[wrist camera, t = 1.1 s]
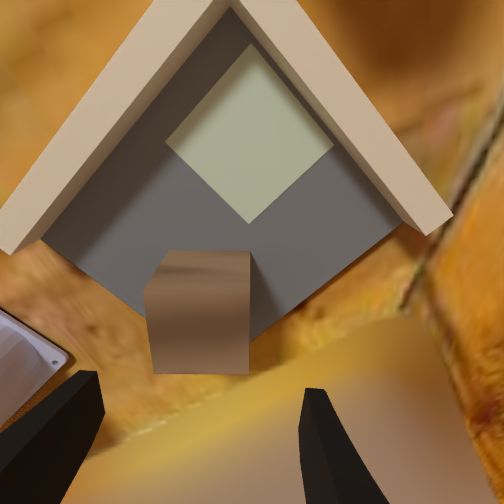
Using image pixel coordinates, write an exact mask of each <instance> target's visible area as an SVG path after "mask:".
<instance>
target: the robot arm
mask: <svg viewBox="0 0 504 504" xmlns="http://www.w3.org/2000/svg"><path fill="white" fill-rule="evenodd" d="M68 359H69V356H68V354H67V353H66V352H64V351H63V350H61V349H60V348H58V347H57V346H55V345H54V344H52V343H51V342H49V341H48V340H46V339H45V338H43V337H42V336H40V335H38V334H37V333H35V332H34V331H32V330H31V329H29V328H28V327H26V326H25V325H23V324H22V323H20V322H19V321H17V320H15V319H14V318H12V317H11V316H9V315H8V314H6V313H5V312H3V311H2V310H0V428H1V427H2V425H3V424H4V423H5V422H6V420H8V419H9V418H10V417H11V416H12V415H13V414H14V413H15V412H16V411H17V410H18V409H19V408H20V407H21V406H22V405H23V404H24V403H25V402H26V401H27V400H28V399H29V398H30V397H31V396H32V395H33V394H34V393H35V392H36V391H37V390H38V389H39V388H40V387H41V386H42V385H43V384H44V383H45V382H46V381H47V380H48V379H50V378H51V377H52V376H53V375H54V374H55V373H56V372H57V371H58V370H59V369H60V368H61V367H62V366H63V365H64V364H65V363H66V362H67V360H68ZM57 361H58V362H57ZM104 415H105V409H104V404H103V399H102V394H101V389H100V384H99V379H98V374H97V371H86V370H79V371H78V372H77V373H75V374H74V375H73V376H71V377H70V378H69V379H68V380H67V381H65V382H64V383H63V384H62V385H60V386H59V387H58V388H57V389H55V390H54V391H53V392H52V393H51V394H49V395H48V396H47V397H46V398H44V399H43V400H42V401H41V402H40V403H38V404H37V405H36V406H35V407H33V408H32V409H31V410H30V411H28V412H27V413H26V414H25V415H23V416H22V417H21V418H19V419H18V420H17V421H16V422H14V423H13V424H12V425H11V426H9V427H8V428H7V429H5V430H4V431H3V432H1V433H0V504H60V503H61V501H62V499H63V497H64V496H65V494H66V492H67V490H68V488H69V486H70V485H71V483H72V481H73V479H74V477H75V476H76V474H77V472H78V470H79V468H80V466H81V464H82V463H83V461H84V459H85V457H86V455H87V453H88V451H89V450H90V448H91V446H92V444H93V441H94V439H95V437H96V434H97V432H98V430H99V427H100V425H101V422H102V420H103V417H104ZM298 432H299V451H300V464H301V471H302V478H303V485H304V491H305V498H306V504H389V502H388V501H387V499H386V498H385V496H384V495H383V493H382V491H381V490H380V488H379V487H378V485H377V484H376V482H375V481H374V479H373V478H372V476H371V474H370V473H369V471H368V470H367V468H366V466H365V465H364V463H363V461H362V460H361V458H360V456H359V454H358V453H357V451H356V449H355V447H354V446H353V444H352V442H351V440H350V439H349V437H348V435H347V433H346V431H345V429H344V428H343V426H342V424H341V422H340V420H339V418H338V416H337V414H336V412H335V410H334V408H333V406H332V404H331V402H330V399H329V397H328V395H327V393H326V391H325V390H324V389H316V388H305V394H304V400H303V405H302V410H301V416H300V422H299V427H298Z"/></svg>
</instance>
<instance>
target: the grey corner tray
mask: <svg viewBox="0 0 504 504" xmlns="http://www.w3.org/2000/svg"><path fill="white" fill-rule="evenodd" d="M452 216H453V214H452V212H451V211H450V210H449V208H448V207H447V206H446V204H445V203H444V201H443V200H442V199H441V197H440V196H439V195H438V193H437V192H436V191H435V189H434V188H433V186H432V185H431V184H430V182H429V181H428V180H427V178H426V177H425V176H424V174H423V173H422V171H421V170H420V169H419V167H418V166H417V165H416V163H415V162H414V160H413V159H412V158H411V156H410V155H409V154H408V152H407V151H406V150H405V148H404V147H403V145H402V144H401V143H400V141H399V140H398V139H397V137H396V136H395V135H394V133H393V132H392V130H391V129H390V128H389V126H388V125H387V124H386V122H385V121H384V120H383V118H382V117H381V115H380V114H379V113H378V111H377V110H376V109H375V107H374V106H373V104H372V103H371V102H370V100H369V99H368V98H367V96H366V95H365V94H364V92H363V91H362V89H361V88H360V87H359V85H358V84H357V83H356V81H355V80H354V79H353V77H352V76H351V74H350V73H349V72H348V70H347V69H346V68H345V66H344V65H343V64H342V62H341V61H340V59H339V58H338V57H337V55H336V54H335V53H334V51H333V50H332V48H331V47H330V46H329V44H328V43H327V42H326V40H325V39H324V38H323V36H322V35H321V33H320V32H319V31H318V29H317V28H316V27H315V25H314V24H313V23H312V21H311V20H310V18H309V17H308V16H307V14H306V13H305V12H304V10H303V9H302V7H301V6H300V5H299V3H298V2H297V1H296V0H154V1H153V2H152V4H151V5H150V7H149V8H148V9H147V11H146V12H145V13H144V15H143V16H142V17H141V19H140V20H139V22H138V23H137V24H136V26H135V27H134V28H133V30H132V31H131V32H130V34H129V35H128V37H127V38H126V39H125V41H124V42H123V43H122V45H121V46H120V47H119V49H118V50H117V51H116V53H115V54H114V56H113V57H112V58H111V60H110V61H109V62H108V64H107V65H106V66H105V68H104V69H103V71H102V72H101V73H100V75H99V76H98V77H97V79H96V80H95V81H94V83H93V84H92V86H91V87H90V88H89V90H88V91H87V92H86V94H85V95H84V96H83V98H82V99H81V101H80V102H79V103H78V105H77V106H76V107H75V109H74V110H73V111H72V113H71V114H70V115H69V117H68V118H67V120H66V121H65V122H64V124H63V125H62V126H61V128H60V129H59V130H58V132H57V133H56V135H55V136H54V137H53V139H52V140H51V141H50V143H49V144H48V145H47V147H46V148H45V150H44V151H43V152H42V154H41V155H40V156H39V158H38V159H37V160H36V162H35V163H34V165H33V166H32V167H31V169H30V170H29V171H28V173H27V174H26V175H25V177H24V178H23V179H22V181H21V182H20V184H19V185H18V186H17V188H16V189H15V190H14V192H13V193H12V194H11V196H10V197H9V199H8V200H7V201H6V203H5V204H4V205H3V207H2V208H1V209H0V249H2V250H3V251H5V252H6V253H7V254H9V255H12V254H14V253H16V252H18V251H19V250H21V249H23V248H25V247H27V246H28V245H30V244H32V243H34V242H36V241H37V240H39V239H41V240H42V241H43V242H45V243H46V244H47V245H49V246H50V247H51V248H53V249H54V250H55V251H57V252H58V253H59V254H61V255H62V256H63V257H65V258H66V259H67V260H69V261H70V262H71V263H73V264H74V265H75V266H77V267H78V268H79V269H81V270H82V271H83V272H85V273H86V274H87V275H89V276H90V277H91V278H93V279H94V280H95V281H97V282H98V283H99V284H101V285H102V286H103V287H105V288H106V289H107V290H108V291H110V292H111V293H112V294H114V295H115V296H116V297H118V298H119V299H120V300H122V301H123V302H124V303H126V304H127V305H128V306H130V307H131V308H132V309H134V310H135V311H136V312H138V313H139V314H140V315H142V316H143V317H144V318H146V314H145V307H144V300H143V293H142V291H143V290H144V288H145V286H146V285H147V283H148V282H149V280H150V279H151V277H152V275H153V274H154V272H155V271H156V269H157V268H158V266H159V264H160V263H161V261H162V260H163V258H164V257H165V255H166V253H167V252H168V250H206V251H250V327H249V343H250V342H251V341H252V340H254V339H255V338H256V337H257V336H259V335H260V334H261V333H262V332H264V331H265V330H266V329H268V328H269V327H270V326H271V325H273V324H274V323H275V322H276V321H278V320H279V319H280V318H282V317H283V316H284V315H285V314H287V313H288V312H289V311H291V310H292V309H293V308H294V307H296V306H297V305H298V304H299V303H301V302H302V301H303V300H305V299H306V298H307V297H308V296H310V295H311V294H312V293H313V292H315V291H316V290H317V289H319V288H320V287H321V286H322V285H324V284H325V283H326V282H327V281H329V280H330V279H331V278H333V277H334V276H335V275H336V274H338V273H339V272H340V271H341V270H343V269H344V268H345V267H347V266H348V265H349V264H350V263H352V262H353V261H354V260H355V259H357V258H358V257H359V256H361V255H362V254H363V253H364V252H366V251H367V250H368V249H369V248H371V247H372V246H373V245H375V244H376V243H377V242H378V241H380V240H381V239H382V238H383V237H385V236H386V235H387V234H389V233H390V232H391V231H392V230H394V229H395V228H396V227H397V226H399V225H400V224H401V223H403V222H405V223H407V224H408V225H410V226H411V227H413V228H414V229H416V230H417V231H419V232H421V233H422V234H424V235H425V236H427V235H428V234H429V233H431V232H432V231H433V230H435V229H436V228H437V227H439V226H440V225H441V224H443V223H444V222H445V221H447V220H448V219H449V218H451V217H452Z"/></svg>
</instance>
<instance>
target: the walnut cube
mask: <svg viewBox="0 0 504 504" xmlns="http://www.w3.org/2000/svg"><path fill="white" fill-rule="evenodd" d="M142 293H143V300H144V307H145V314H146V321H147V328H148V335H149V342H150V349H151V356H152V363H153V370H154V374H227V375H249V327H250V251H206V250H168V252H167V253H166V255H165V257H164V258H163V260H162V261H161V263H160V264H159V266H158V268H157V269H156V271H155V272H154V274H153V275H152V277H151V279H150V280H149V282H148V283H147V285H146V286H145V288H144V290H143V291H142Z"/></svg>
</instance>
